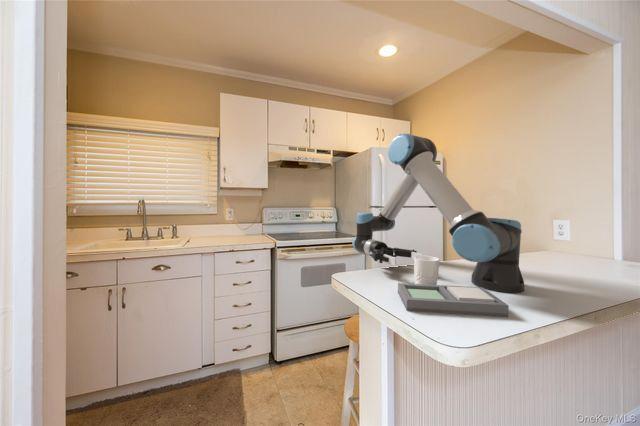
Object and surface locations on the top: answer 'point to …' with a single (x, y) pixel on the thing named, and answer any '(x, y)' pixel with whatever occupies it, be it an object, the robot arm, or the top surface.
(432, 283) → the white cup
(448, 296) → the grey divided tray
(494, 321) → the top surface
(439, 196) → the robot arm
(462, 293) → the white square tile
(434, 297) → the sage key
